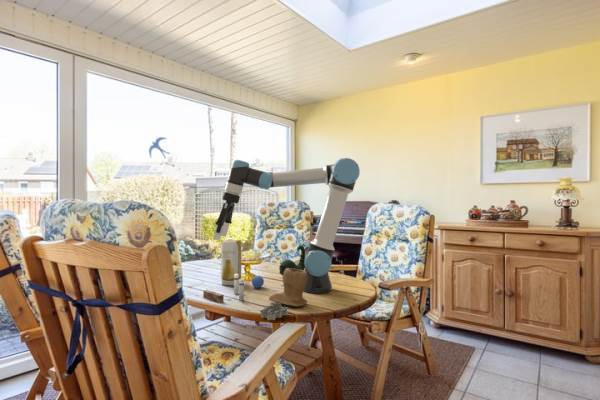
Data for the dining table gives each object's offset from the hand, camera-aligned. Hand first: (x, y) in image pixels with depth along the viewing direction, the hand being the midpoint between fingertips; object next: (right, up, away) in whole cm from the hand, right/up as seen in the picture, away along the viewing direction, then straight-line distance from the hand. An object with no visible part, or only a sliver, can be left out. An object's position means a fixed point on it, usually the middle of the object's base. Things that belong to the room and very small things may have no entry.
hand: (219, 238), depth 152 cm
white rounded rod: (+11, -27, -6) cm, 29 cm away
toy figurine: (+33, -27, +35) cm, 55 cm away
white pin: (+7, -27, +3) cm, 28 cm away
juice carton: (+1, -27, +22) cm, 34 cm away
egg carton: (+27, -27, -25) cm, 46 cm away
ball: (+16, -24, +15) cm, 32 cm away
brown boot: (+33, -27, -10) cm, 44 cm away
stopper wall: (-1, -26, -6) cm, 27 cm away
